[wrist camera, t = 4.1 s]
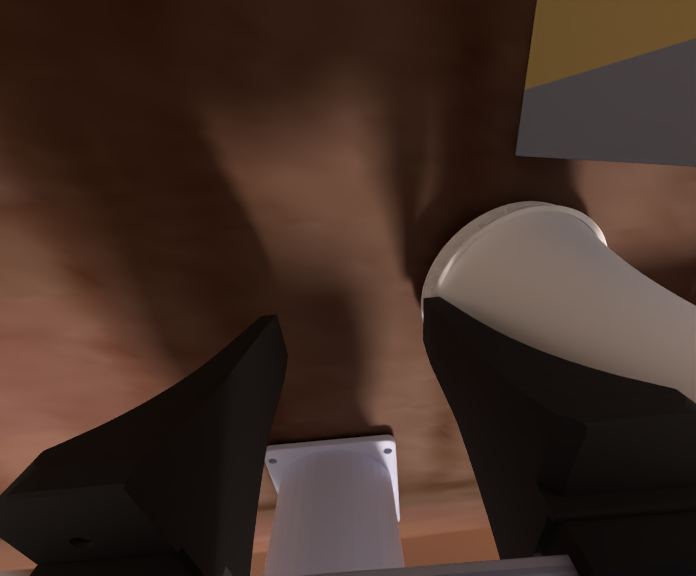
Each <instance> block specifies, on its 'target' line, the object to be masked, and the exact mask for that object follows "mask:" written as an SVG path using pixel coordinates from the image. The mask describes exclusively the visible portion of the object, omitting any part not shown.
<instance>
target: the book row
mask: <svg viewBox="0 0 696 576" xmlns="http://www.w3.org/2000/svg"><path fill="white" fill-rule="evenodd" d="M515 156H528V157H545V158H561V159H578V160H594V161H611V162H627V163H644V164H660V165H677V166H693V167H696V0H537V4H536V11H535V18H534V25H533V33H532V40H531V47H530V54H529V61H528V68H527V75H526V82H525V90H524V97H523V104H522V111H521V118H520V125H519V132H518V139H517V147H516V154H515Z"/></svg>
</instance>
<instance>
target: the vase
mask: <svg viewBox="0 0 696 576" xmlns="http://www.w3.org/2000/svg"><path fill="white" fill-rule="evenodd" d="M430 297H441V298H443V299H444V300H446V301H448V302H449V303H451V304H452V305H454V306H456V307H457V308H459V309H460V310H462V311H463V312H465V313H467V314H468V315H470V316H471V317H473V318H475V319H476V320H478V321H480V322H482V323H483V324H485V325H487V326H489V327H491V328H493V329H494V330H496V331H498V332H500V333H502V334H504V335H506V336H508V337H510V338H512V339H515V340H517V341H519V342H521V343H524V344H526V345H528V346H531V347H533V348H535V349H538V350H541V351H543V352H546V353H549V354H551V355H554V356H557V357H560V358H562V359H565V360H568V361H571V362H574V363H577V364H581V365H584V366H587V367H590V368H594V369H597V370H601V371H604V372H608V373H611V374H615V375H619V376H623V377H627V378H631V379H636V380H640V381H644V382H649V383H653V384H657V385H661V386H666V387H670V388H674V389H677V390H678V391H680V392H681V393H682V394H684V395H685V396H687V397H688V398H689V399H691V400H692V401H693V402H695V403H696V306H695V305H693V304H692V303H690V302H688V301H686V300H684V299H683V298H681V297H679V296H677V295H676V294H674V293H672V292H671V291H669V290H667V289H665V288H664V287H662V286H660V285H659V284H657V283H656V282H654V281H653V280H651V279H650V278H648V277H647V276H645V275H643V274H642V273H641V272H639V271H638V270H636V269H635V268H633V267H632V266H631V265H629V264H628V263H627V262H626V261H624V260H623V259H622V258H620V257H619V256H618V255H617V254H615V253H614V252H613V251H612V250H611V249H610V248H608V247H607V243H606V240H605V237H604V235H603V233H602V231H601V230H600V228H599V227H598V226H597V224H596V223H595V222H594V221H593V220H592V219H591V218H589V217H588V216H587V215H585V214H583V213H582V212H580V211H577V210H575V209H572V208H568V207H564V206H559V205H554V204H550V203H546V202H539V201H523V202H516V203H511V204H507V205H504V206H500V207H498V208H495V209H493V210H490V211H488V212H486V213H484V214H482V215H481V216H479V217H477V218H476V219H474V220H473V221H471V222H470V223H468V224H467V225H466V226H464V227H463V228H462V229H461V230H460V231H458V232H457V233H456V234H455V235H454V236H453V237H452V238H451V239H450V240H449V241H448V242H447V244H446V245H445V246H444V247H443V249H442V250H441V251H440V253H439V254H438V256H437V257H436V259H435V260H434V262H433V264H432V266H431V267H430V270H429V272H428V274H427V276H426V279H425V282H424V286H423V290H422V296H421V315H422V320H423V298H430Z"/></svg>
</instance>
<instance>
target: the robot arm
mask: <svg viewBox="0 0 696 576" xmlns="http://www.w3.org/2000/svg"><path fill="white" fill-rule="evenodd" d="M423 341H424V345H425V348H426V352H427V355H428V358H429V361H430V364H431V366H432V368H433V370H434V373H435V375H436V377H437V379H438V381H439V383H440V386H441V388H442V390H443V392H444V394H445V396H446V399H447V401H448V403H449V405H450V407H451V409H452V412H453V414H454V416H455V419H456V421H457V424H458V426H459V429H460V432H461V435H462V438H463V441H464V444H465V447H466V450H467V452H468V456H469V459H470V462H471V465H472V468H473V471H474V474H475V477H476V480H477V483H478V486H479V490H480V493H481V496H482V499H483V503H484V506H485V509H486V512H487V515H488V519H489V522H490V526H491V529H492V532H493V536H494V539H495V543H496V546H497V549H498V553H499V556H500V560H490V561H478V562H465V563H452V564H439V565H428V566H414V567H404V560H403V554H402V547H401V540H400V533H399V526H398V521H399V520H400V512H399V494H398V476H397V458H396V443H395V439H394V437H393V436H391V435H377V436H366V437H355V438H344V439H333V440H323V441H312V442H301V443H290V444H279V445H269V446H267V443H268V439H269V434H270V430H271V426H272V423H273V419H274V416H275V412H276V408H277V405H278V401H279V398H280V394H281V390H282V386H283V383H284V379H285V373H286V366H287V357H288V354H287V350H286V347H285V343H284V339H283V336H282V332H281V328H280V325H279V321H278V317H277V315H269V316H261V317H260V318H259V319H257V320H256V321H255V322H254V323H253V324H252V325H250V326H249V327H248V328H247V329H246V330H245V331H244V332H243V333H241V334H240V335H239V336H238V337H237V338H236V339H235V340H233V341H232V342H231V343H230V344H229V345H228V346H227V347H225V348H224V349H223V350H222V351H220V352H219V353H218V354H217V355H215V356H214V357H213V358H212V359H210V360H209V361H208V362H207V363H205V364H204V365H203V366H201V367H200V368H199V369H197V370H196V371H195V372H193V373H192V374H190V375H189V376H187V377H186V378H184V379H183V380H181V381H180V382H178V383H177V384H175V385H174V386H172V387H170V388H169V389H167V390H165V391H164V392H162V393H160V394H159V395H157V396H155V397H154V398H152V399H150V400H148V401H147V402H145V403H143V404H141V405H140V406H138V407H136V408H134V409H132V410H130V411H128V412H127V413H125V414H123V415H121V416H119V417H117V418H115V419H113V420H111V421H109V422H107V423H105V424H103V425H100V426H98V427H96V428H94V429H92V430H90V431H87V432H85V433H83V434H81V435H79V436H76V437H74V438H72V439H70V440H67V441H65V442H63V443H61V444H58V445H56V446H54V447H51V448H49V449H47V450H44V451H43V452H42V453H41V454H40V455H39V456H38V457H37V458H36V459H35V460H34V461H33V462H32V463H31V464H30V465H29V466H28V467H27V468H26V469H25V470H24V472H23V473H22V474H21V475H20V476H19V477H18V478H17V479H16V480H15V481H14V482H13V483H12V484H11V485H10V486H9V487H8V488H7V489H6V490H5V491H4V492H3V493H2V494H1V495H0V538H2V539H3V540H4V541H6V542H7V543H8V544H10V545H11V546H13V547H14V548H15V549H17V550H18V551H19V552H21V553H22V554H24V555H25V556H26V557H28V558H29V559H30V560H32V561H33V562H35V563H36V564H38V565H37V566H36V568H35V569H34V570H33V572H32V573H31V575H30V576H250V569H251V558H252V550H253V540H254V532H255V524H256V516H257V508H258V500H259V494H260V487H261V480H262V473H263V467H264V461H265V463H266V466H267V468H268V471H269V473H270V476H271V478H272V481H273V483H274V486H275V488H276V491H277V493H278V498H277V504H276V509H275V515H274V520H273V526H272V531H271V537H270V542H269V548H268V553H267V559H266V564H265V570H264V575H263V576H696V403H695V402H693V401H692V400H691V399H689V398H688V397H687V396H685V395H684V394H682V393H681V392H680V391H678V390H677V389H674V388H670V387H666V386H661V385H657V384H653V383H649V382H644V381H640V380H636V379H631V378H627V377H623V376H619V375H615V374H611V373H608V372H604V371H601V370H597V369H594V368H590V367H587V366H584V365H581V364H577V363H574V362H571V361H568V360H565V359H562V358H560V357H557V356H554V355H551V354H549V353H546V352H543V351H541V350H538V349H535V348H533V347H531V346H528V345H526V344H524V343H521V342H519V341H517V340H515V339H512V338H510V337H508V336H506V335H504V334H502V333H500V332H498V331H496V330H494V329H493V328H491V327H489V326H487V325H485V324H483V323H482V322H480V321H478V320H476V319H475V318H473V317H471V316H470V315H468V314H467V313H465V312H463V311H462V310H460V309H459V308H457V307H456V306H454V305H452V304H451V303H449V302H448V301H446V300H444V299H443V298H441V297H430V298H423Z"/></svg>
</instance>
